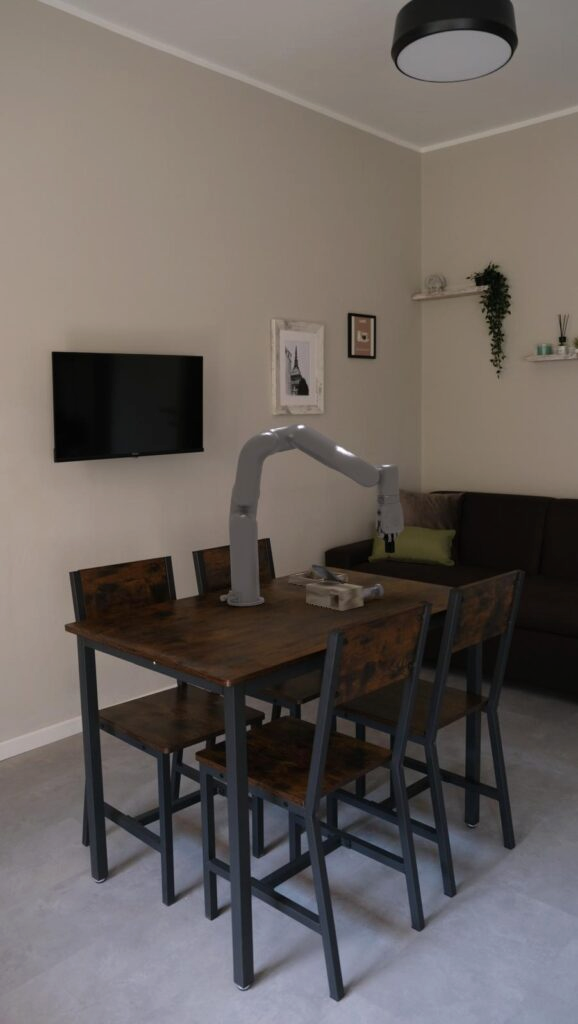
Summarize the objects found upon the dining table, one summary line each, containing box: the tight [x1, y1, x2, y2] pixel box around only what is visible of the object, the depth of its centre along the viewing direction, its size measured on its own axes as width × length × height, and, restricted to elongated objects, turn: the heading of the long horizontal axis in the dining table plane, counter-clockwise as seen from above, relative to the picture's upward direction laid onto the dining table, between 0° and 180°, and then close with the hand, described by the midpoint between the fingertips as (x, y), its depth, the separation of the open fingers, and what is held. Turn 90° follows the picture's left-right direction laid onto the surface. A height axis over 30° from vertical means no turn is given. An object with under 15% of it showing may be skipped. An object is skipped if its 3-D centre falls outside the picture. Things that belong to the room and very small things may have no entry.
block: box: [305, 579, 364, 612], centre depth 278 cm, size 10×17×8 cm, turn 42°
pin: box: [363, 583, 385, 599], centre depth 280 cm, size 15×4×4 cm, turn 132°
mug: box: [307, 564, 324, 580], centre depth 316 cm, size 7×10×10 cm
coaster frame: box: [287, 571, 349, 587], centre depth 316 cm, size 16×15×3 cm
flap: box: [311, 564, 342, 583], centre depth 281 cm, size 9×7×1 cm
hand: (389, 552), depth 288 cm, fingers closed
